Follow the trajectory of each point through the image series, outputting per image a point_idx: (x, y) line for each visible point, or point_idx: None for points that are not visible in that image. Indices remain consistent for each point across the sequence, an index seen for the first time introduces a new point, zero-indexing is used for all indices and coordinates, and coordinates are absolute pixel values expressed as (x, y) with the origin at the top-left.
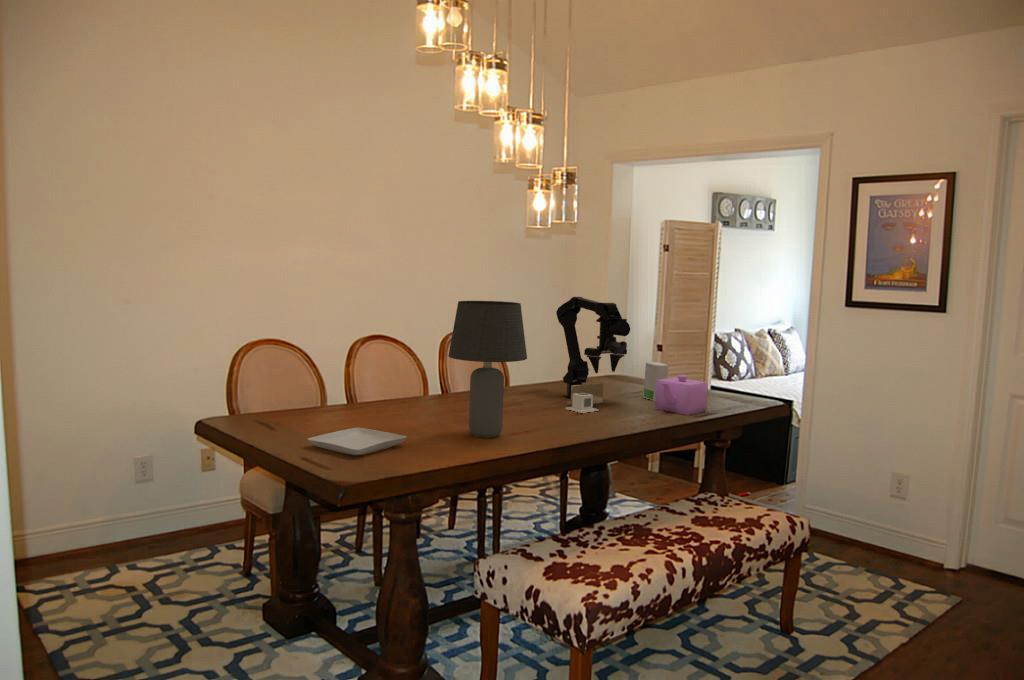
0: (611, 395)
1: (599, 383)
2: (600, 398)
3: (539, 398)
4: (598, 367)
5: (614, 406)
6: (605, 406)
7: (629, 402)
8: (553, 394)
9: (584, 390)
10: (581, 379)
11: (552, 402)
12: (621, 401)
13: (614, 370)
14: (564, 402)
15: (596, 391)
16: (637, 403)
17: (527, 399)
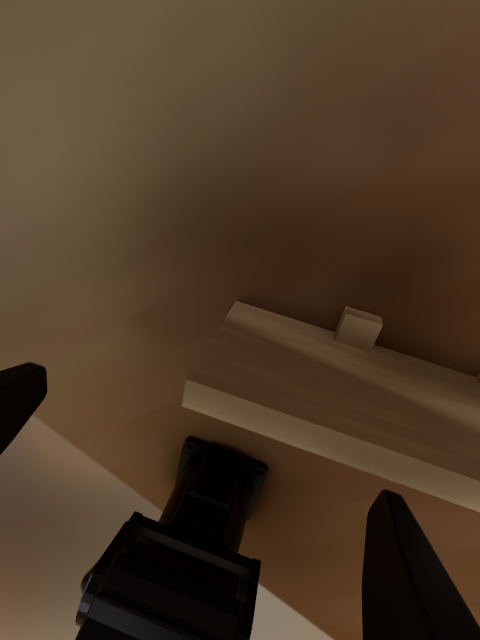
0: (14, 363)
1: (221, 401)
2: (247, 321)
3: None
4: (417, 588)
5: (294, 159)
6: (350, 212)
7: (69, 171)
8: None
9: (426, 426)
10: (173, 548)
11: (462, 511)
12: (91, 233)
13: (19, 371)
14: None
15: (282, 365)
16: (45, 101)
17: None
